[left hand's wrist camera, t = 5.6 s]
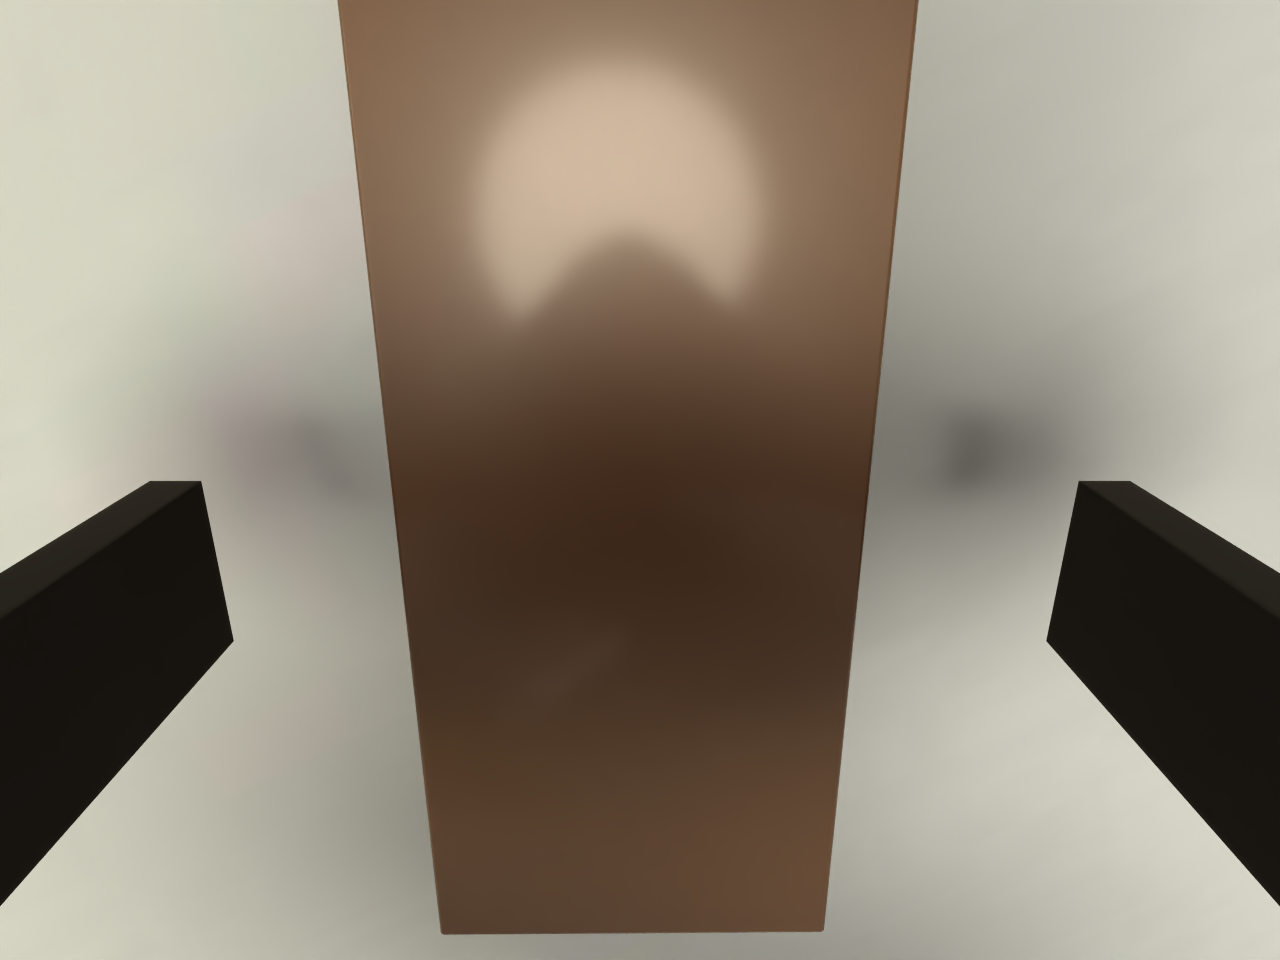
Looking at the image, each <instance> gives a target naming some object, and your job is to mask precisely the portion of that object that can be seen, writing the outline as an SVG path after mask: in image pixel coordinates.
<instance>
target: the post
mask: <svg viewBox="0 0 1280 960" xmlns="http://www.w3.org/2000/svg"><path fill="white" fill-rule="evenodd" d="M918 1H919V0H338V9H339V18H340V27H341V36H342V45H343V54H344V63H345V72H346V81H347V90H348V99H349V108H350V117H351V126H352V135H353V144H354V153H355V162H356V171H357V180H358V189H359V198H360V207H361V216H362V225H363V234H364V243H365V252H366V261H367V270H368V279H369V288H370V298H371V307H372V316H373V325H374V334H375V343H376V352H377V361H378V370H379V379H380V388H381V397H382V406H383V415H384V424H385V433H386V442H387V451H388V460H389V469H390V478H391V487H392V496H393V505H394V514H395V523H396V532H397V541H398V550H399V559H400V568H401V577H402V586H403V596H404V605H405V614H406V623H407V632H408V641H409V650H410V659H411V668H412V677H413V686H414V695H415V704H416V713H417V722H418V731H419V740H420V749H421V758H422V767H423V776H424V785H425V794H426V803H427V812H428V821H429V830H430V839H431V848H432V857H433V866H434V875H435V885H436V894H437V903H438V912H439V921H440V930H441V933H442V934H444V935H451V934H590V933H728V932H822V931H823V930H824V923H825V913H826V903H827V894H828V884H829V874H830V864H831V854H832V845H833V835H834V825H835V815H836V805H837V796H838V786H839V776H840V766H841V756H842V746H843V737H844V727H845V717H846V707H847V697H848V688H849V678H850V668H851V658H852V648H853V639H854V629H855V619H856V609H857V599H858V589H859V580H860V570H861V560H862V550H863V540H864V531H865V521H866V511H867V501H868V491H869V482H870V472H871V462H872V452H873V442H874V433H875V423H876V413H877V403H878V393H879V383H880V374H881V364H882V354H883V344H884V334H885V325H886V315H887V305H888V295H889V285H890V276H891V266H892V256H893V246H894V236H895V226H896V217H897V207H898V197H899V187H900V177H901V168H902V158H903V148H904V138H905V128H906V119H907V109H908V99H909V89H910V79H911V70H912V60H913V50H914V40H915V30H916V20H917V11H918Z"/></svg>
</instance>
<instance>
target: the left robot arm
mask: <svg viewBox="0 0 1280 960" xmlns="http://www.w3.org/2000/svg"><path fill="white" fill-rule="evenodd" d="M233 641H234V640H233V635H232V630H231V625H230V621H229V616H228V611H227V606H226V601H225V596H224V591H223V586H222V581H221V576H220V571H219V566H218V562H217V557H216V552H215V547H214V542H213V537H212V532H211V527H210V522H209V517H208V512H207V507H206V503H205V498H204V493H203V488H202V483H201V481H149V482H148V483H146V484H144V485H143V486H141V487H140V488H138V489H136V490H135V491H133V492H131V493H130V494H128V495H127V496H125V497H123V498H122V499H120V500H118V501H117V502H115V503H114V504H112V505H110V506H109V507H107V508H105V509H104V510H102V511H101V512H99V513H97V514H96V515H94V516H92V517H91V518H89V519H88V520H86V521H84V522H83V523H81V524H79V525H78V526H76V527H75V528H73V529H71V530H70V531H68V532H66V533H65V534H63V535H62V536H60V537H58V538H57V539H55V540H53V541H52V542H50V543H49V544H47V545H45V546H44V547H42V548H40V549H39V550H37V551H36V552H34V553H32V554H31V555H29V556H27V557H26V558H24V559H23V560H21V561H19V562H18V563H16V564H14V565H13V566H11V567H10V568H8V569H6V570H5V571H3V572H1V573H0V906H1V905H2V904H3V902H4V901H5V900H6V899H7V898H8V897H9V896H10V894H11V893H12V892H13V891H14V890H15V889H16V888H17V887H18V885H19V884H20V883H21V882H22V881H23V880H24V879H25V877H26V876H27V875H28V874H29V873H30V872H31V871H32V869H33V868H34V867H35V866H36V865H37V864H38V863H39V862H40V860H41V859H42V858H43V857H44V856H45V855H46V854H47V852H48V851H49V850H50V849H51V848H52V847H53V846H54V844H55V843H56V842H57V841H58V840H59V839H60V838H61V837H62V835H63V834H64V833H65V832H66V831H67V830H68V829H69V827H70V826H71V825H72V824H73V823H74V822H75V821H76V819H77V818H78V817H79V816H80V815H81V814H82V813H83V812H84V810H85V809H86V808H87V807H88V806H89V805H90V804H91V802H92V801H93V800H94V799H95V798H96V797H97V796H98V795H99V793H100V792H101V791H102V790H103V789H104V788H105V787H106V785H107V784H108V783H109V782H110V781H111V780H112V779H113V777H114V776H115V775H116V774H117V773H118V772H119V771H120V770H121V768H122V767H123V766H124V765H125V764H126V763H127V762H128V760H129V759H130V758H131V757H132V756H133V755H134V754H135V752H136V751H137V750H138V749H139V748H140V747H141V746H142V745H143V743H144V742H145V741H146V740H147V739H148V738H149V737H150V735H151V734H152V733H153V732H154V731H155V730H156V729H157V727H158V726H159V725H160V724H161V723H162V722H163V721H164V720H165V718H166V717H167V716H168V715H169V714H170V713H171V712H172V710H173V709H174V708H175V707H176V706H177V705H178V704H179V702H180V701H181V700H182V699H183V698H184V697H185V696H186V695H187V693H188V692H189V691H190V690H191V689H192V688H193V687H194V685H195V684H196V683H197V682H198V681H199V680H200V679H201V677H202V676H203V675H204V674H205V673H206V672H207V671H208V670H209V668H210V667H211V666H212V665H213V664H214V663H215V662H216V660H217V659H218V658H219V657H220V656H221V655H222V654H223V653H224V651H225V650H226V649H227V648H228V647H229V646H230V645H231V643H232V642H233ZM1046 641H1047V642H1048V643H1049V645H1050V646H1051V647H1052V648H1053V649H1054V650H1055V651H1056V653H1057V654H1058V655H1059V656H1060V657H1061V658H1062V659H1063V660H1064V662H1065V663H1066V664H1067V665H1068V666H1069V667H1070V668H1071V670H1072V671H1073V672H1074V673H1075V674H1076V675H1077V676H1078V677H1079V679H1080V680H1081V681H1082V682H1083V683H1084V684H1085V685H1086V687H1087V688H1088V689H1089V690H1090V691H1091V692H1092V693H1093V695H1094V696H1095V697H1096V698H1097V699H1098V700H1099V701H1100V702H1101V704H1102V705H1103V706H1104V707H1105V708H1106V709H1107V710H1108V712H1109V713H1110V714H1111V715H1112V716H1113V717H1114V718H1115V720H1116V721H1117V722H1118V723H1119V724H1120V725H1121V726H1122V727H1123V729H1124V730H1125V731H1126V732H1127V733H1128V734H1129V735H1130V737H1131V738H1132V739H1133V740H1134V741H1135V742H1136V743H1137V745H1138V746H1139V747H1140V748H1141V749H1142V750H1143V751H1144V752H1145V754H1146V755H1147V756H1148V757H1149V758H1150V759H1151V760H1152V762H1153V763H1154V764H1155V765H1156V766H1157V767H1158V768H1159V770H1160V771H1161V772H1162V773H1163V774H1164V775H1165V776H1166V777H1167V779H1168V780H1169V781H1170V782H1171V783H1172V784H1173V785H1174V787H1175V788H1176V789H1177V790H1178V791H1179V792H1180V793H1181V795H1182V796H1183V797H1184V798H1185V799H1186V800H1187V801H1188V802H1189V804H1190V805H1191V806H1192V807H1193V808H1194V809H1195V810H1196V812H1197V813H1198V814H1199V815H1200V816H1201V817H1202V818H1203V819H1204V821H1205V822H1206V823H1207V824H1208V825H1209V826H1210V827H1211V829H1212V830H1213V831H1214V832H1215V833H1216V834H1217V835H1218V837H1219V838H1220V839H1221V840H1222V841H1223V842H1224V843H1225V844H1226V846H1227V847H1228V848H1229V849H1230V850H1231V851H1232V852H1233V854H1234V855H1235V856H1236V857H1237V858H1238V859H1239V860H1240V862H1241V863H1242V864H1243V865H1244V866H1245V867H1246V868H1247V869H1248V871H1249V872H1250V873H1251V874H1252V875H1253V876H1254V877H1255V879H1256V880H1257V881H1258V882H1259V883H1260V884H1261V885H1262V887H1263V888H1264V889H1265V890H1266V891H1267V892H1268V893H1269V894H1270V896H1271V897H1272V898H1273V899H1274V900H1275V901H1276V902H1277V904H1278V905H1279V906H1280V573H1279V572H1277V571H1275V570H1274V569H1272V568H1270V567H1269V566H1267V565H1266V564H1264V563H1262V562H1261V561H1259V560H1257V559H1256V558H1254V557H1253V556H1251V555H1249V554H1248V553H1246V552H1244V551H1243V550H1241V549H1240V548H1238V547H1236V546H1235V545H1233V544H1231V543H1230V542H1228V541H1227V540H1225V539H1223V538H1222V537H1220V536H1218V535H1217V534H1215V533H1214V532H1212V531H1210V530H1209V529H1207V528H1205V527H1204V526H1202V525H1201V524H1199V523H1197V522H1196V521H1194V520H1192V519H1191V518H1189V517H1188V516H1186V515H1184V514H1183V513H1181V512H1179V511H1178V510H1176V509H1175V508H1173V507H1171V506H1170V505H1168V504H1166V503H1165V502H1163V501H1162V500H1160V499H1158V498H1157V497H1155V496H1153V495H1152V494H1150V493H1149V492H1147V491H1145V490H1144V489H1142V488H1140V487H1139V486H1137V485H1136V484H1134V483H1132V482H1131V481H1079V483H1078V488H1077V493H1076V498H1075V503H1074V507H1073V512H1072V517H1071V522H1070V527H1069V532H1068V537H1067V542H1066V547H1065V552H1064V557H1063V562H1062V566H1061V571H1060V576H1059V581H1058V586H1057V591H1056V596H1055V601H1054V606H1053V611H1052V616H1051V621H1050V625H1049V630H1048V635H1047V640H1046Z"/></svg>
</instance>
